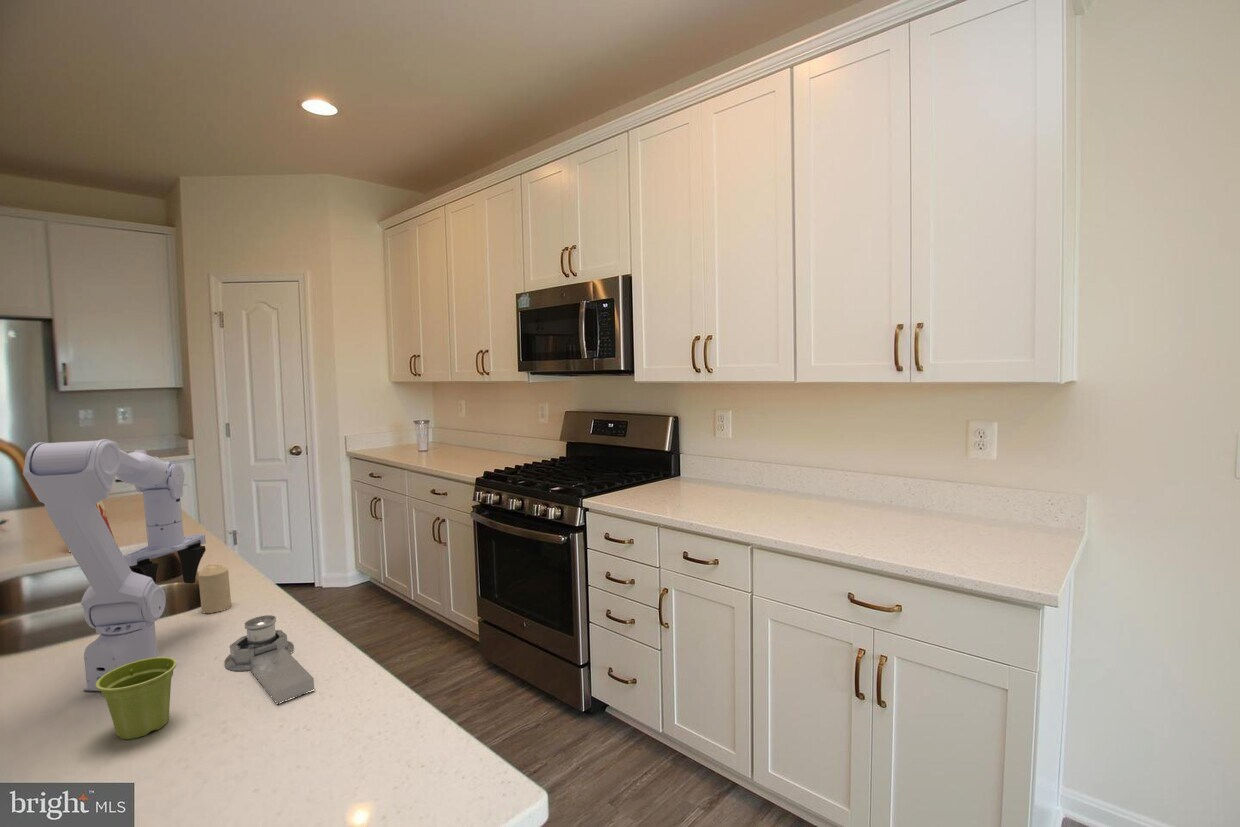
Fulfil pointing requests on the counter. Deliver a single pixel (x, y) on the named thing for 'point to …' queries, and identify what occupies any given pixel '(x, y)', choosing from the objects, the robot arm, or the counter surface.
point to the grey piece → (271, 667)
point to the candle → (214, 588)
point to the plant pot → (138, 695)
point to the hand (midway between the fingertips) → (170, 589)
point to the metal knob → (260, 631)
